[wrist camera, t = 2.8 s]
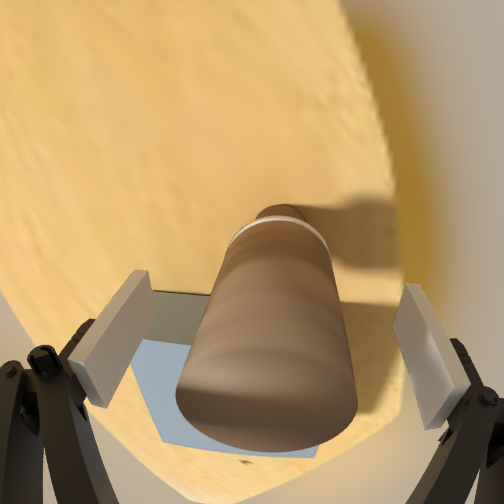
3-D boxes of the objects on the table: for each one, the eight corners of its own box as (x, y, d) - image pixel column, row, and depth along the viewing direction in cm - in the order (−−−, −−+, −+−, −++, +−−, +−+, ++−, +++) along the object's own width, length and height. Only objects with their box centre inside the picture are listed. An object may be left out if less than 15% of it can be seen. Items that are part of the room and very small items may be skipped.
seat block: (149, 290, 26) (120, 335, 21) (338, 302, 25) (348, 355, 20) (176, 401, 34) (162, 442, 28) (313, 413, 32) (314, 458, 27)
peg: (237, 188, 22) (157, 339, 8) (326, 192, 21) (381, 352, 8) (238, 266, 24) (188, 443, 11) (318, 270, 24) (338, 454, 10)
